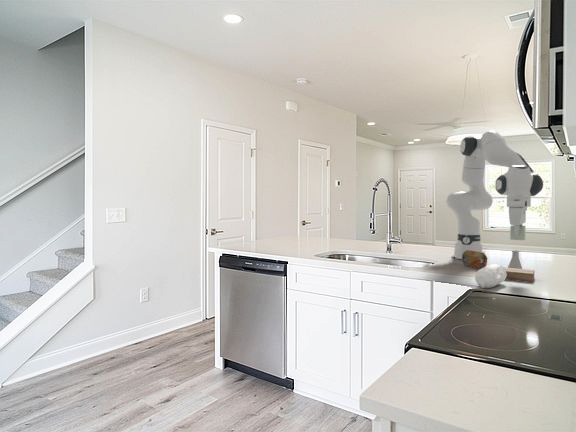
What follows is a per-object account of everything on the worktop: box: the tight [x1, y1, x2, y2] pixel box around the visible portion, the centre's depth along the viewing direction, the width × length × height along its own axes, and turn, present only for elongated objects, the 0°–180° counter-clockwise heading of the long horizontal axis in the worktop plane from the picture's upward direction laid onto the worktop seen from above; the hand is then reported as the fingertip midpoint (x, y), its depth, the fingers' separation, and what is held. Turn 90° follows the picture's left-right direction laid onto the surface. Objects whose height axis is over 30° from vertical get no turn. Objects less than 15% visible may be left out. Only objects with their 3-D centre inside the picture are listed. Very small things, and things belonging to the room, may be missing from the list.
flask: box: [507, 249, 523, 269], centre depth 180 cm, size 7×7×10 cm
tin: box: [461, 250, 488, 270], centre depth 192 cm, size 15×3×8 cm, turn 14°
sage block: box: [509, 224, 526, 241], centre depth 163 cm, size 5×5×6 cm
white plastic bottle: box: [474, 263, 507, 289], centre depth 149 cm, size 8×19×8 cm, turn 135°
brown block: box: [504, 267, 535, 283], centre depth 164 cm, size 10×12×4 cm
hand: (517, 234), depth 163 cm, fingers closed on sage block, 5 cm apart
